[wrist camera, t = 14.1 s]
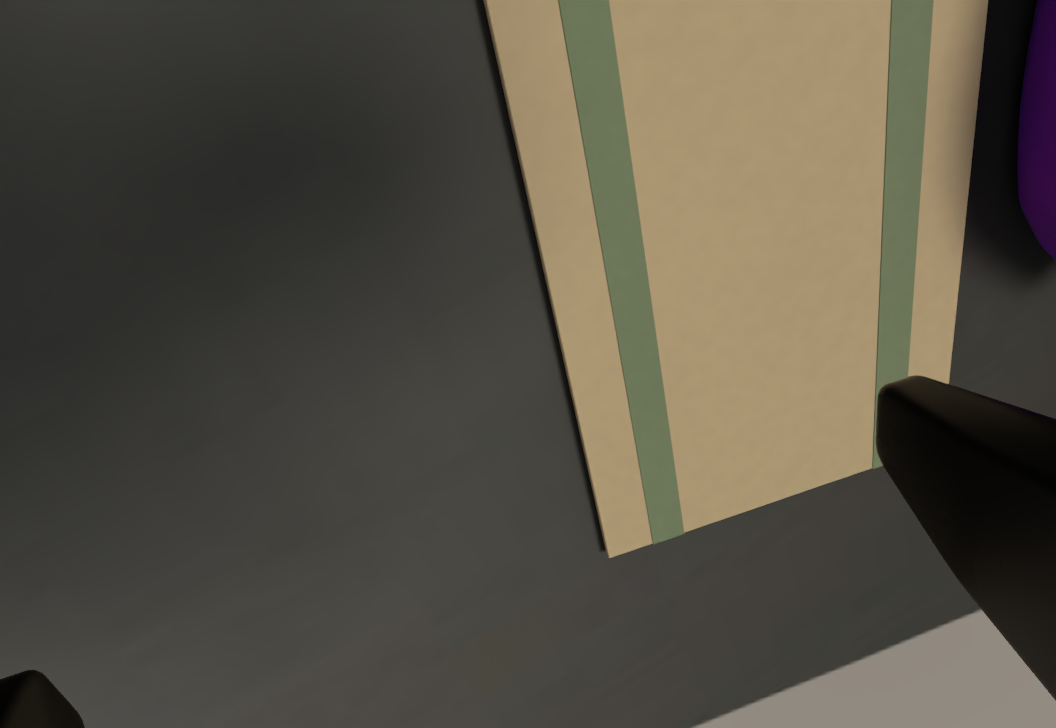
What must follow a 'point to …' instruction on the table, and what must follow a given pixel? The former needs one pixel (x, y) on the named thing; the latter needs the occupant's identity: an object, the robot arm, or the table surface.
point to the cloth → (740, 231)
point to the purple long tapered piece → (1039, 129)
